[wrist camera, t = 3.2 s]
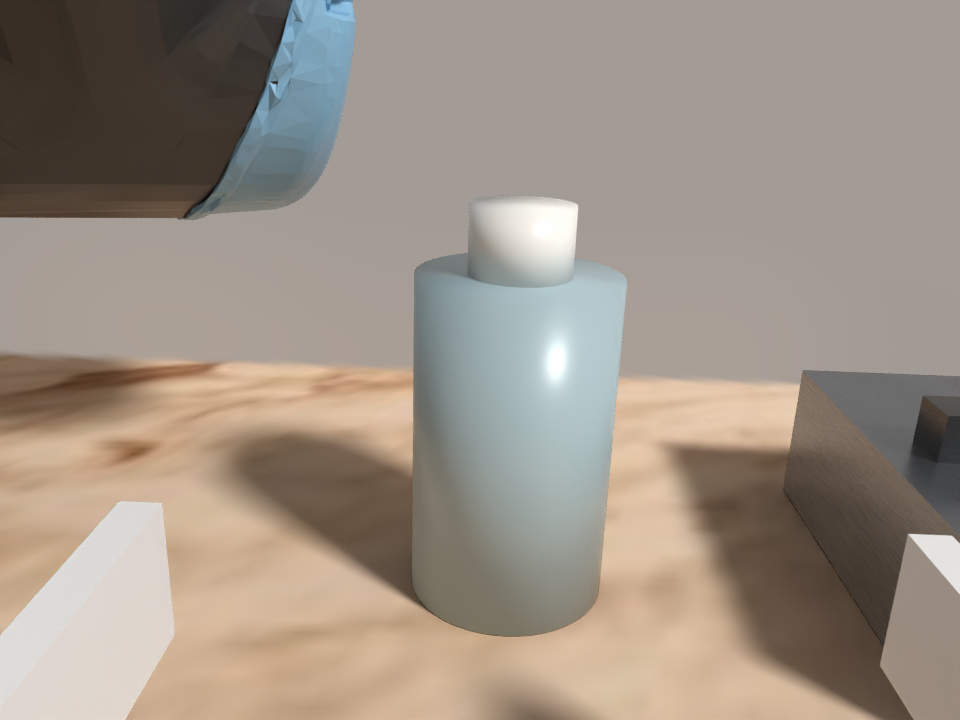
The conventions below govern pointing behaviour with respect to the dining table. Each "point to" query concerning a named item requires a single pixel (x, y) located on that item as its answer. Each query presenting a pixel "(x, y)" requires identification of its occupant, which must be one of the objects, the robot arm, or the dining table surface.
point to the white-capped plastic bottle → (513, 420)
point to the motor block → (875, 473)
